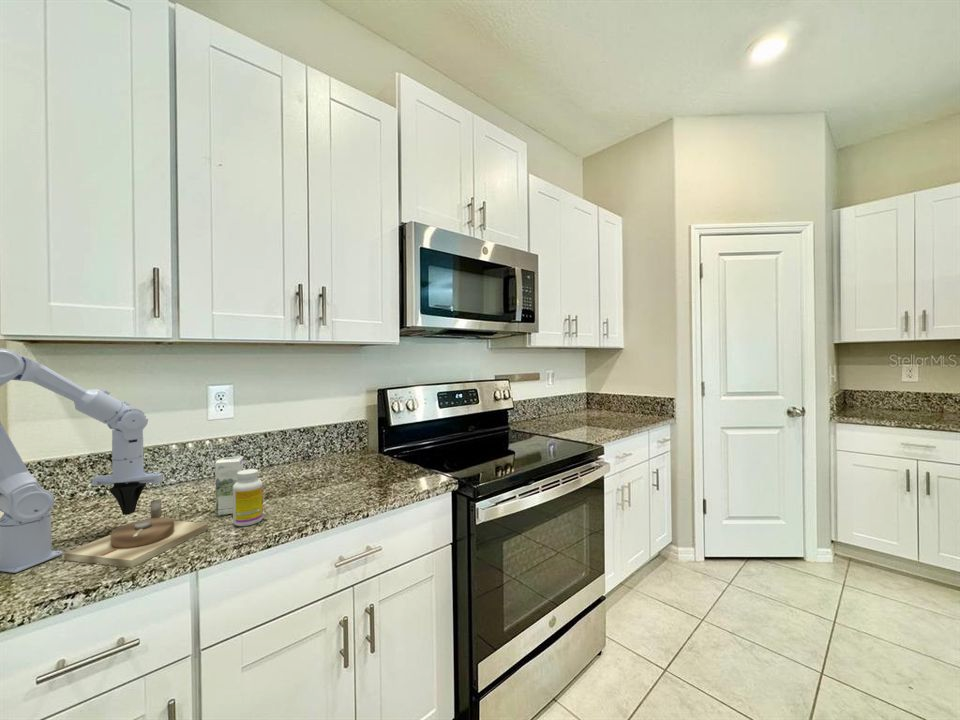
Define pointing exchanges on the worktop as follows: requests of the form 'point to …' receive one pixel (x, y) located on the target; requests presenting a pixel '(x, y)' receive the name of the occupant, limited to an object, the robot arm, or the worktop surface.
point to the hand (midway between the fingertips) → (128, 513)
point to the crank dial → (143, 529)
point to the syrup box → (226, 483)
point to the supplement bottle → (247, 498)
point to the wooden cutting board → (135, 555)
